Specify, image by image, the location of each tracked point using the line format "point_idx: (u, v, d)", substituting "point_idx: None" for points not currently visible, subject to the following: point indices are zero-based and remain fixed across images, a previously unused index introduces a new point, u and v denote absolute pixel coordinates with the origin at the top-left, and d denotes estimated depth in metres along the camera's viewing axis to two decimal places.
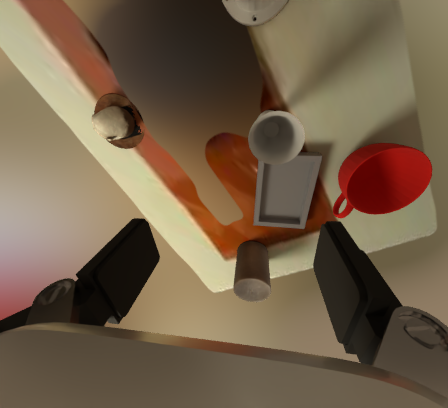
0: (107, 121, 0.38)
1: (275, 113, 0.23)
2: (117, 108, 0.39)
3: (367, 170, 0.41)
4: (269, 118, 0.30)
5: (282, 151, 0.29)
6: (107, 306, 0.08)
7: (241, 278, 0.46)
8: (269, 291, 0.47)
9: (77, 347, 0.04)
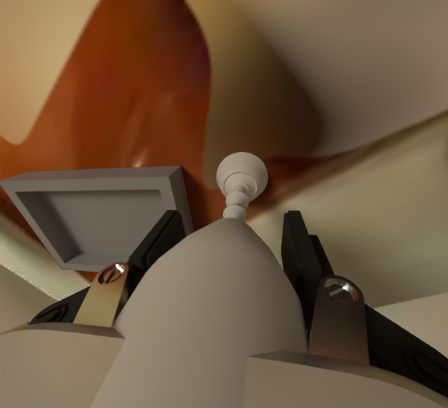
0: None
1: None
2: None
3: None
4: None
5: None
6: None
7: None
8: None
9: (77, 347, 0.04)
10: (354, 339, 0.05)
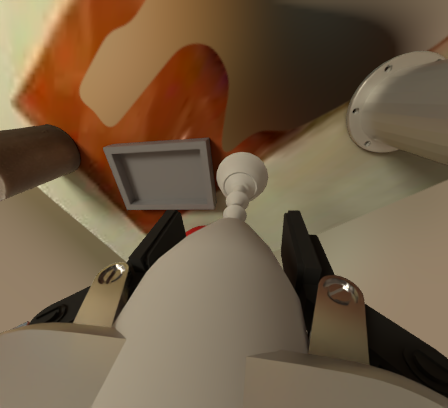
0: None
1: None
2: None
3: None
4: None
5: None
6: None
7: None
8: None
9: (77, 347, 0.04)
10: (354, 339, 0.05)
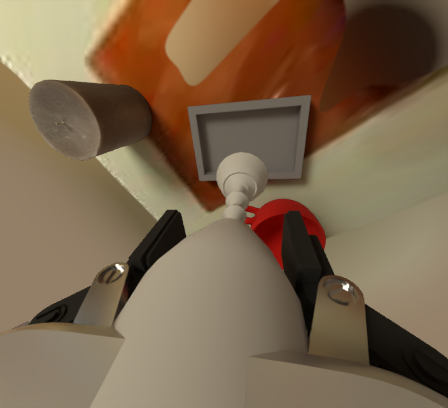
0: None
1: None
2: None
3: (276, 220, 0.41)
4: None
5: None
6: None
7: (83, 95, 0.22)
8: (84, 157, 0.26)
9: (77, 347, 0.04)
10: (354, 339, 0.05)
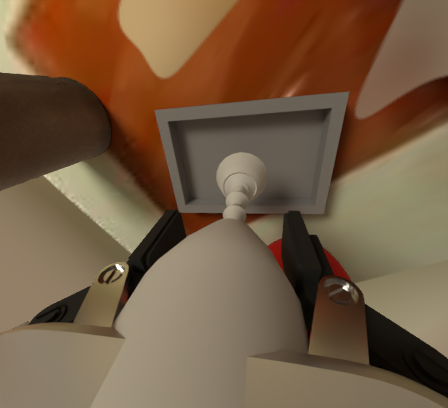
0: None
1: None
2: None
3: None
4: None
5: None
6: None
7: None
8: None
9: (77, 347, 0.04)
10: (354, 339, 0.05)
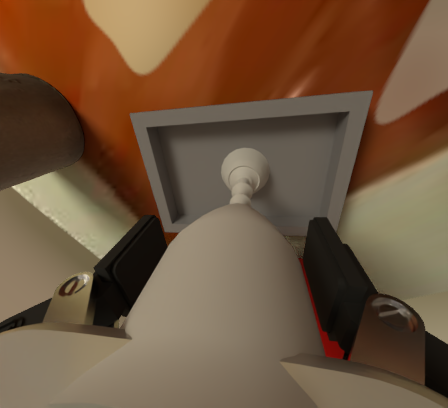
0: None
1: None
2: None
3: None
4: None
5: None
6: (122, 299, 0.08)
7: None
8: None
9: (77, 347, 0.04)
10: (407, 371, 0.04)
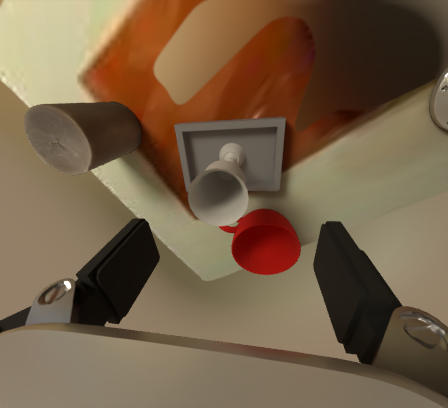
0: None
1: (245, 195, 0.20)
2: None
3: (259, 228, 0.44)
4: None
5: (205, 197, 0.25)
6: (106, 305, 0.08)
7: (75, 119, 0.24)
8: (76, 172, 0.28)
9: (77, 347, 0.04)
10: (436, 392, 0.04)
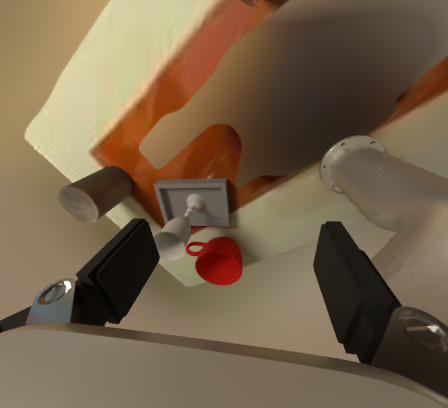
0: None
1: (184, 244, 0.35)
2: None
3: None
4: None
5: (166, 240, 0.40)
6: (106, 306, 0.08)
7: (88, 194, 0.40)
8: (89, 222, 0.44)
9: (77, 347, 0.04)
10: (436, 392, 0.04)
